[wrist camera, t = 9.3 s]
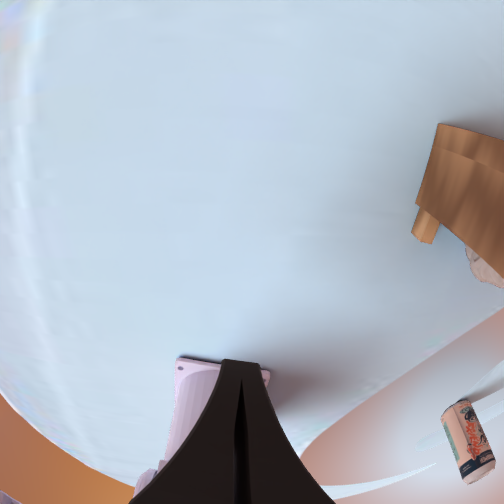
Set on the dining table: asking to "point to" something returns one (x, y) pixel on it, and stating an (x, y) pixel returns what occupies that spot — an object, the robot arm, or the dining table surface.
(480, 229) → the upright wooden block
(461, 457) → the beer can
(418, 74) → the dining table surface
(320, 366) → the dining table surface
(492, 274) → the pink clay lump
